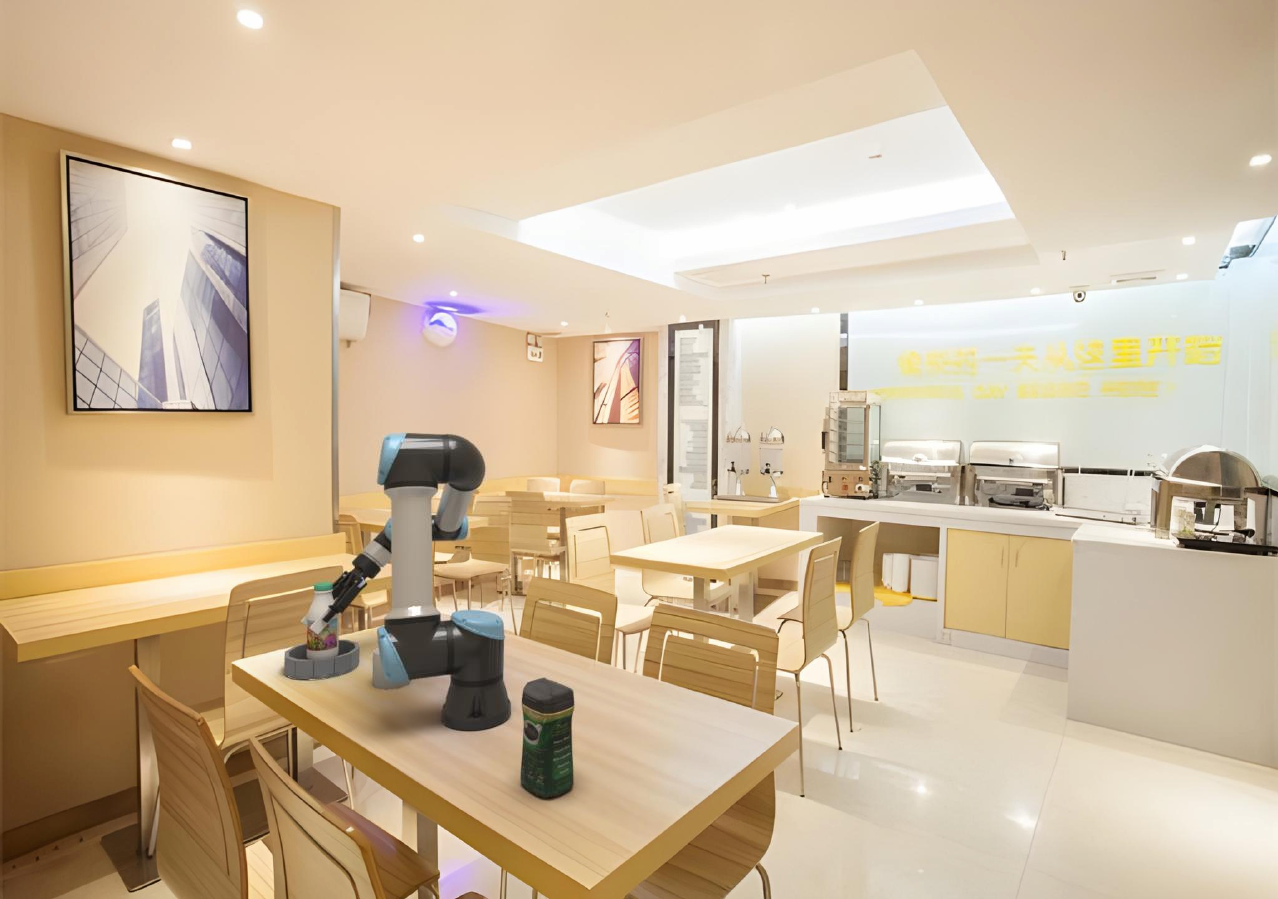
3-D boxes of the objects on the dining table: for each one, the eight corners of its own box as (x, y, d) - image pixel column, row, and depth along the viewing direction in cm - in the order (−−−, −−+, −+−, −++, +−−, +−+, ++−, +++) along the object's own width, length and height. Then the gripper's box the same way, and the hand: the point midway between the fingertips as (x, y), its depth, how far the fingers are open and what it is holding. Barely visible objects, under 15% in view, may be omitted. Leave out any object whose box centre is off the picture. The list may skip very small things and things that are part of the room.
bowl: (372, 665, 176) (372, 647, 176) (309, 685, 161) (310, 665, 161) (333, 653, 186) (333, 635, 185) (270, 671, 170) (270, 652, 170)
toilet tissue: (399, 669, 173) (399, 638, 173) (416, 684, 163) (417, 650, 163) (364, 677, 167) (364, 644, 167) (380, 692, 157) (380, 658, 157)
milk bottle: (309, 653, 176) (310, 581, 176) (340, 651, 178) (341, 579, 178) (304, 662, 168) (304, 587, 168) (336, 660, 171) (336, 585, 171)
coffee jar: (581, 787, 115) (582, 685, 115) (545, 804, 109) (547, 696, 109) (548, 768, 122) (549, 670, 122) (513, 783, 116) (514, 681, 116)
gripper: (394, 574, 176) (331, 645, 165) (368, 563, 191) (309, 627, 180) (375, 557, 172) (309, 628, 161) (350, 547, 187) (288, 611, 177)
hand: (309, 627), depth 171 cm, fingers closed on milk bottle, 7 cm apart
